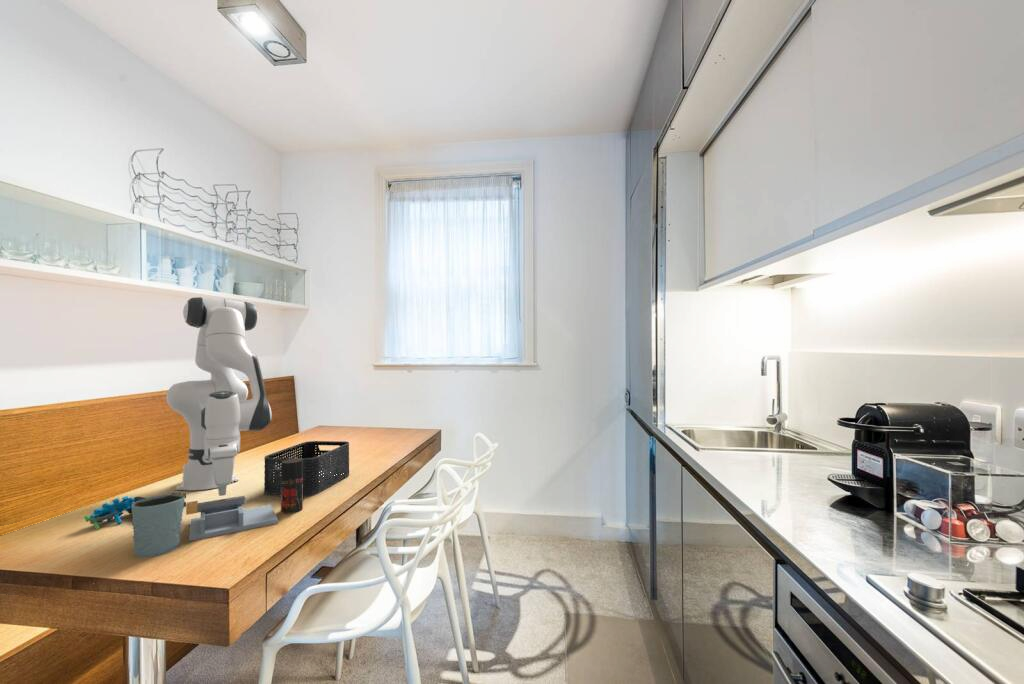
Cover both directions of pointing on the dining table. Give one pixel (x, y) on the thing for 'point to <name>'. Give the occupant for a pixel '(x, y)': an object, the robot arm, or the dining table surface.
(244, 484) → the dining table surface
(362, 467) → the dining table surface
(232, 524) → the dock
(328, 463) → the storage bin
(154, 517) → the embossed plant pot
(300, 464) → the deodorant
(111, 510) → the blue green toy
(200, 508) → the latch bar
